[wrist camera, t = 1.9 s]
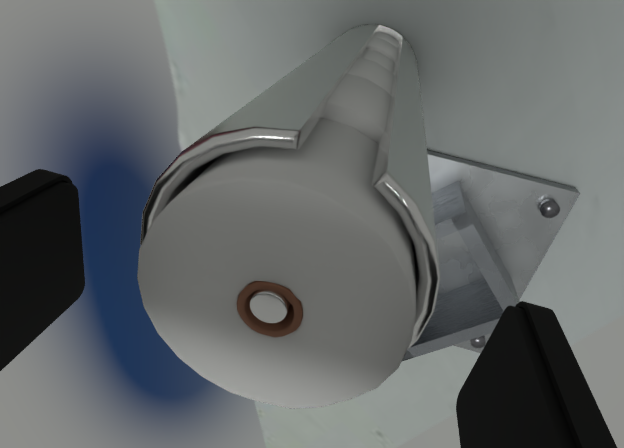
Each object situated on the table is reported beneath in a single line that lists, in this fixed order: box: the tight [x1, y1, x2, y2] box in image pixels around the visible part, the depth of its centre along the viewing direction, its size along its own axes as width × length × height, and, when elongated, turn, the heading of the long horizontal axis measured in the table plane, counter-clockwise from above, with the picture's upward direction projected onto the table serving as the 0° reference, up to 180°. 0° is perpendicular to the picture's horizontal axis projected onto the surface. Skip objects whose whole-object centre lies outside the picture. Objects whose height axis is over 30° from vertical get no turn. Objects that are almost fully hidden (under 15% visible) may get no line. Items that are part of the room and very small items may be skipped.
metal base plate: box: [402, 150, 580, 361], centre depth 33 cm, size 16×16×6 cm
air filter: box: [137, 24, 441, 409], centre depth 19 cm, size 6×6×25 cm
